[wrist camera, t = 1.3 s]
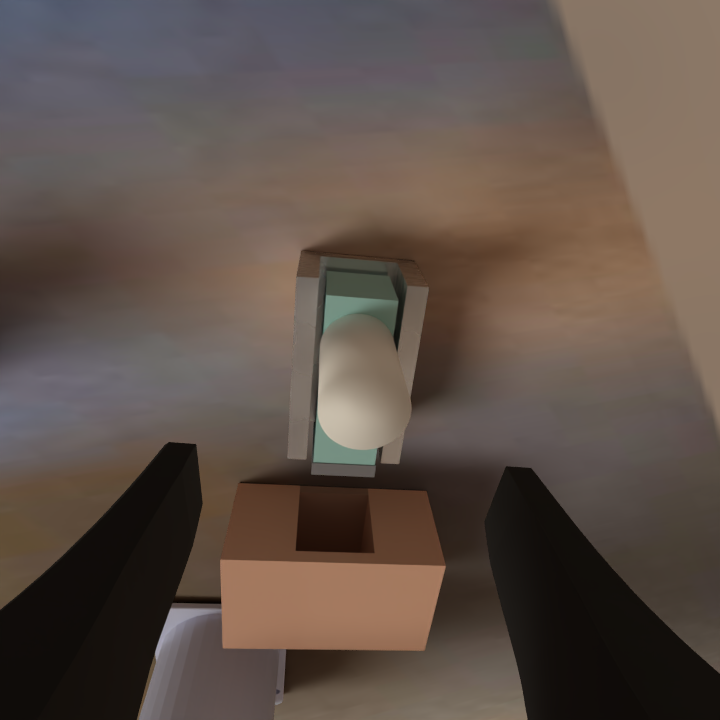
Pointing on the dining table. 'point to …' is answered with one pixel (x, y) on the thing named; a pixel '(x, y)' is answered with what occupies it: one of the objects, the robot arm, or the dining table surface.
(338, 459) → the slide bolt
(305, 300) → the grey u-channel
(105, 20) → the dining table surface
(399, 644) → the socket block
